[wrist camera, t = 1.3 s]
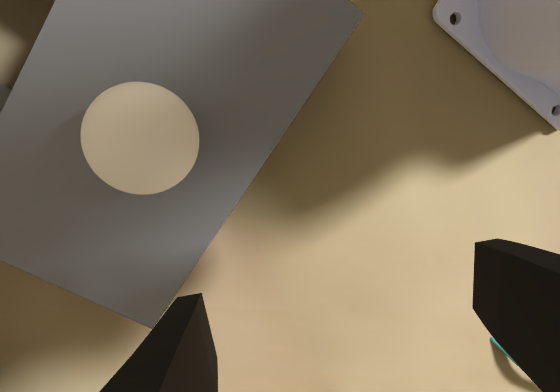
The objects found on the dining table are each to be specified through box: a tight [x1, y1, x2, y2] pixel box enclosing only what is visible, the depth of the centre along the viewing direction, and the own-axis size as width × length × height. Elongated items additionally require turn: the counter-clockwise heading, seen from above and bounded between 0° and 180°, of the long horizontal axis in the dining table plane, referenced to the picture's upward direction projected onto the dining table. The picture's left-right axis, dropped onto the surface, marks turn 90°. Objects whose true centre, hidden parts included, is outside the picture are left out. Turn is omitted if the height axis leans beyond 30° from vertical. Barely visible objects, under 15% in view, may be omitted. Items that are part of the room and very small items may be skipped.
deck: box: [0, 0, 365, 329], centre depth 14 cm, size 15×15×4 cm
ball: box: [81, 82, 199, 195], centre depth 12 cm, size 4×4×4 cm
